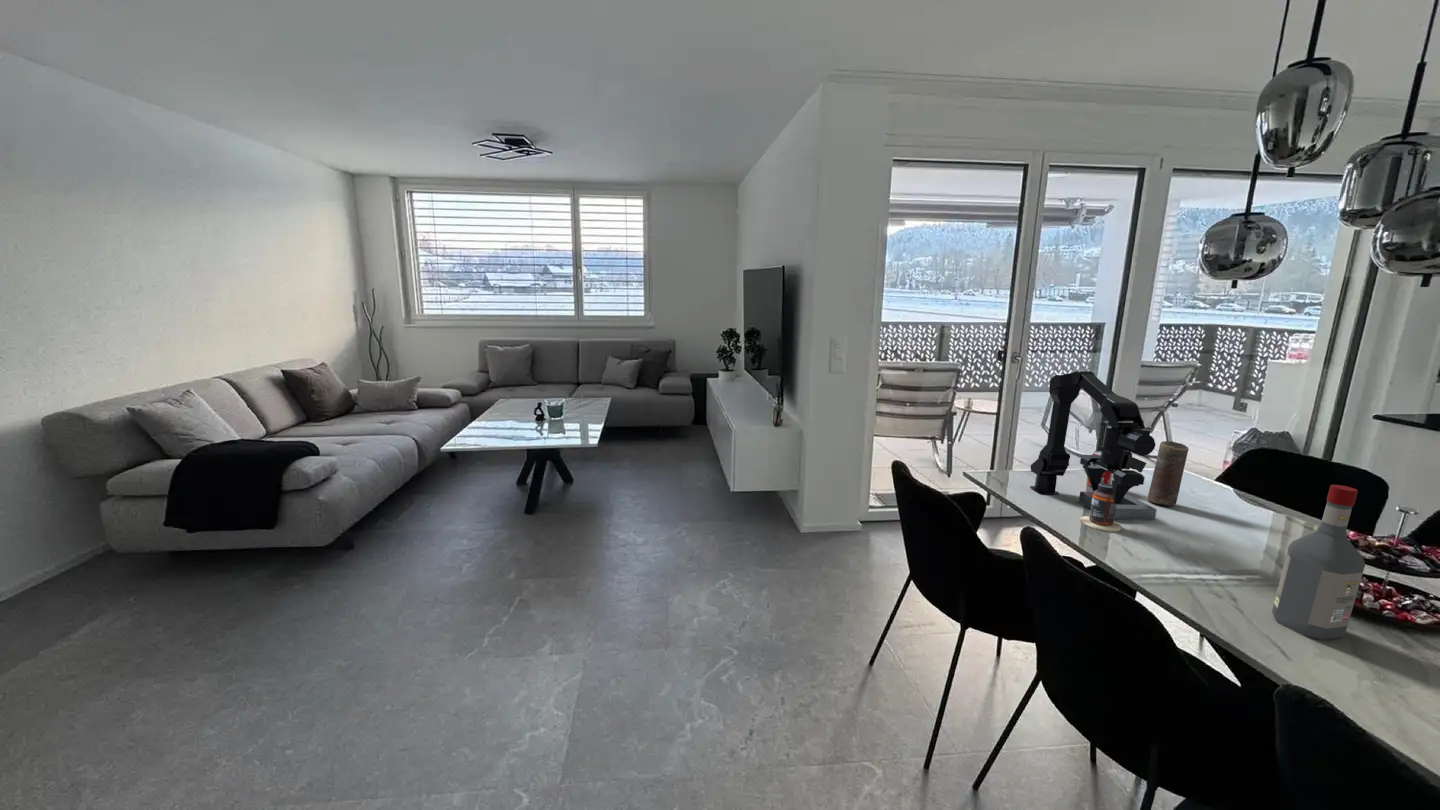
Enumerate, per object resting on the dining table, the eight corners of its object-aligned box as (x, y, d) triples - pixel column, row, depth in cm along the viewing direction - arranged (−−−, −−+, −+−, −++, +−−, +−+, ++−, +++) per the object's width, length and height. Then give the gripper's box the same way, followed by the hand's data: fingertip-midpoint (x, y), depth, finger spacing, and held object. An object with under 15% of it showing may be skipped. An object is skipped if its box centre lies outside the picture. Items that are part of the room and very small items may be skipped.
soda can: (1102, 483, 201) (1108, 451, 199) (1113, 490, 194) (1119, 457, 192) (1081, 482, 202) (1086, 450, 199) (1091, 489, 195) (1097, 455, 192)
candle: (1175, 503, 185) (1187, 443, 180) (1178, 510, 179) (1190, 448, 174) (1146, 497, 189) (1157, 439, 184) (1147, 504, 183) (1159, 444, 178)
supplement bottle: (1114, 522, 166) (1121, 485, 163) (1111, 528, 161) (1117, 490, 159) (1091, 516, 170) (1097, 480, 167) (1086, 522, 165) (1092, 485, 163)
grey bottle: (1350, 638, 113) (1392, 495, 107) (1316, 642, 111) (1356, 497, 105) (1296, 612, 122) (1332, 479, 116) (1263, 616, 120) (1298, 480, 114)
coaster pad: (1072, 517, 170) (1073, 515, 170) (1105, 518, 170) (1106, 516, 170) (1094, 531, 160) (1094, 529, 160) (1129, 532, 161) (1130, 530, 160)
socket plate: (1078, 501, 183) (1080, 491, 182) (1121, 502, 183) (1123, 492, 183) (1108, 519, 169) (1110, 508, 169) (1154, 520, 170) (1156, 509, 169)
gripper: (1169, 455, 151) (1158, 511, 155) (1120, 437, 170) (1111, 487, 173) (1127, 454, 151) (1117, 510, 154) (1083, 436, 169) (1074, 486, 173)
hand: (1105, 497), depth 164 cm, fingers open, 9 cm apart
